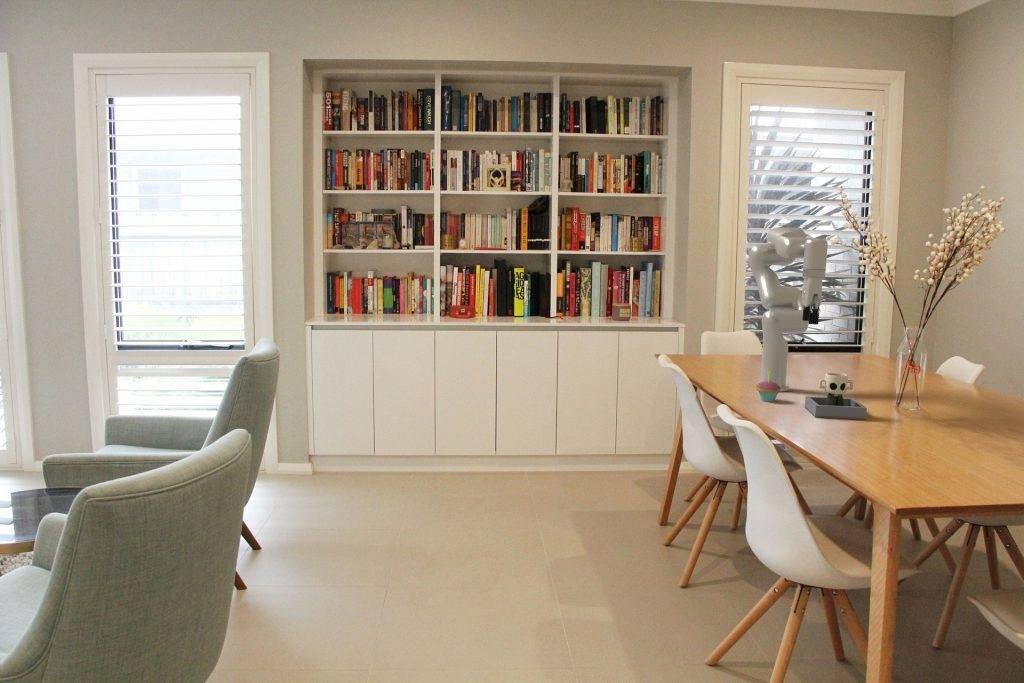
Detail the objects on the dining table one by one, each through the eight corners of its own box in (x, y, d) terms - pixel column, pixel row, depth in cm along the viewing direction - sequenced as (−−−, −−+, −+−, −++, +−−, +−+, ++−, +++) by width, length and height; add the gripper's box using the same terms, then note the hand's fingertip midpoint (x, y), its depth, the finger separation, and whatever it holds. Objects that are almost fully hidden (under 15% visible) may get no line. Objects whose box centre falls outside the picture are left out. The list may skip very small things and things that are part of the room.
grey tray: (804, 407, 275) (805, 396, 274) (852, 409, 273) (853, 398, 272) (815, 417, 259) (815, 405, 259) (865, 419, 257) (866, 408, 256)
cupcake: (781, 403, 281) (783, 370, 280) (756, 402, 283) (758, 369, 282) (778, 398, 290) (780, 366, 288) (754, 397, 291) (756, 365, 290)
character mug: (819, 413, 263) (822, 375, 262) (814, 409, 270) (817, 372, 269) (853, 415, 262) (856, 376, 260) (847, 410, 269) (850, 373, 267)
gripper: (797, 272, 283) (794, 319, 286) (808, 275, 266) (804, 325, 269) (819, 272, 282) (815, 319, 285) (831, 276, 265) (827, 326, 268)
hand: (810, 322), depth 277 cm, fingers open, 9 cm apart
